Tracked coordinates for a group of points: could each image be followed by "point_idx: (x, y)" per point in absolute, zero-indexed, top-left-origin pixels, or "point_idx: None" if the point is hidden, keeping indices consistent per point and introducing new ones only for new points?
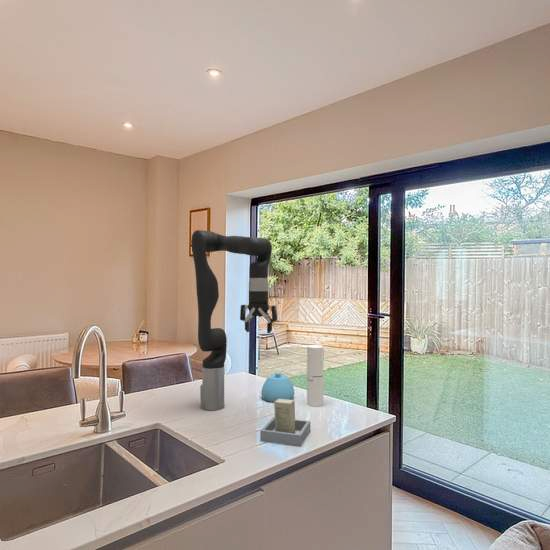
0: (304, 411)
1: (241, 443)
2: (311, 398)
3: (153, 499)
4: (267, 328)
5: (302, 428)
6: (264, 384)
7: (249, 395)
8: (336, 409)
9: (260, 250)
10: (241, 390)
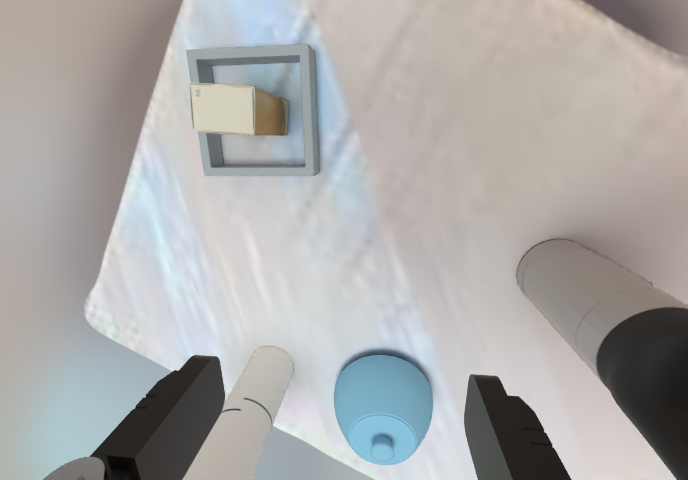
0: (279, 305)
1: (359, 11)
2: (269, 360)
3: None
4: (181, 390)
5: None
6: (421, 405)
7: None
8: (210, 337)
9: None
10: None
